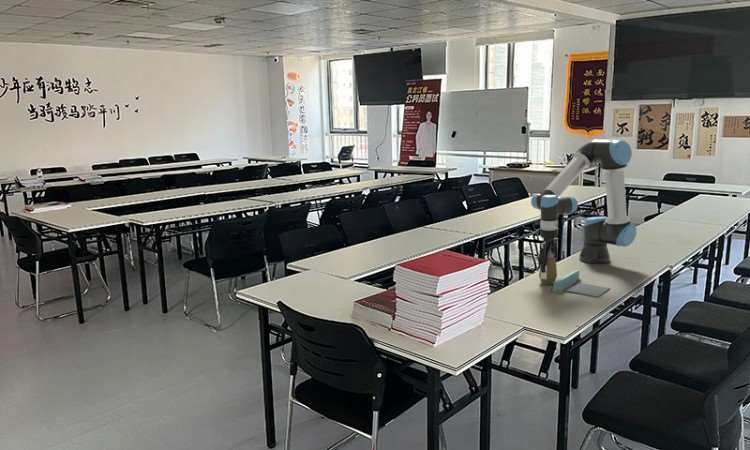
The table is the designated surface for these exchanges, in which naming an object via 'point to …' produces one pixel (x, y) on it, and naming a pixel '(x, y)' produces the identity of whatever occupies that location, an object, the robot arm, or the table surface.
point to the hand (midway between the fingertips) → (548, 276)
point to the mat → (588, 290)
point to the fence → (565, 282)
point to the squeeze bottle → (550, 270)
